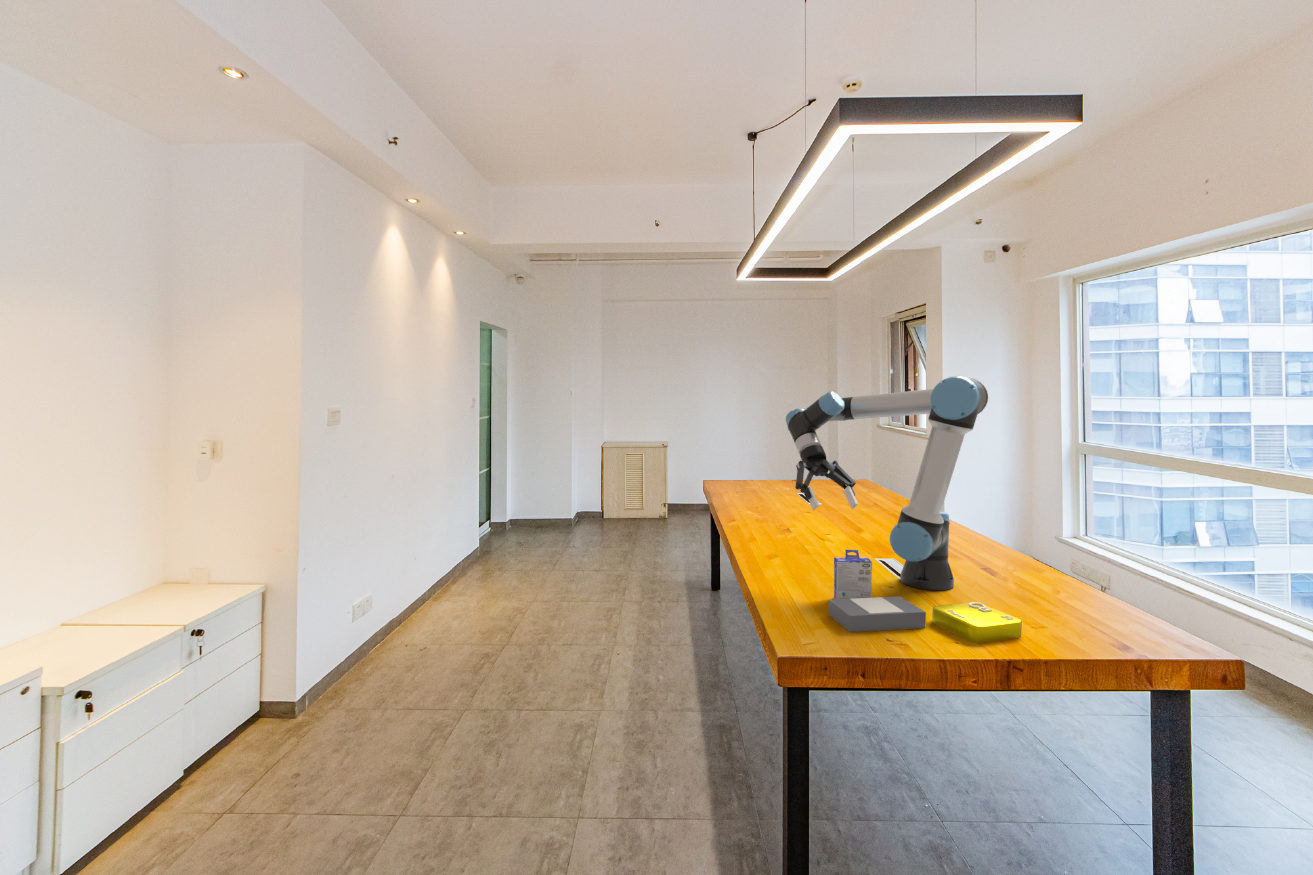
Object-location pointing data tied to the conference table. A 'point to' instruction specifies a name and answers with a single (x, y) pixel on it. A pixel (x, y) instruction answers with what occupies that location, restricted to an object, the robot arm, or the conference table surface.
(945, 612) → the element tile
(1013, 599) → the conference table surface
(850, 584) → the ink cartridge box
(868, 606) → the grey flat block
